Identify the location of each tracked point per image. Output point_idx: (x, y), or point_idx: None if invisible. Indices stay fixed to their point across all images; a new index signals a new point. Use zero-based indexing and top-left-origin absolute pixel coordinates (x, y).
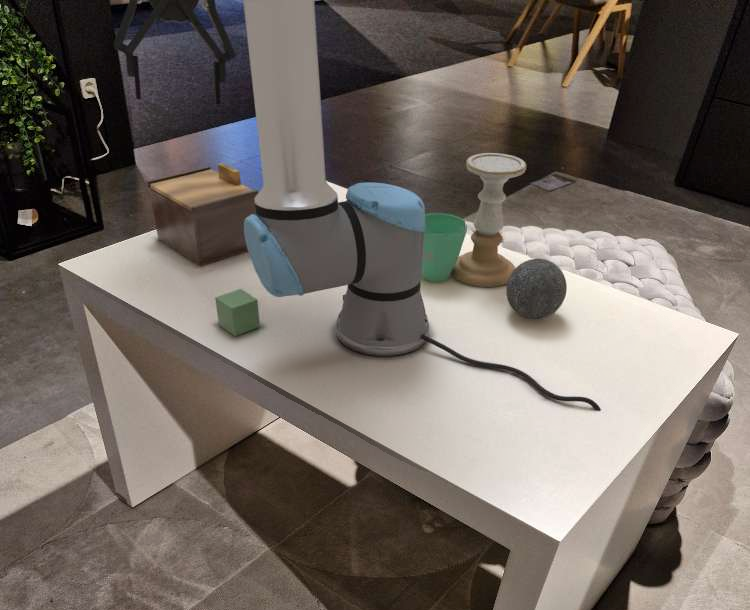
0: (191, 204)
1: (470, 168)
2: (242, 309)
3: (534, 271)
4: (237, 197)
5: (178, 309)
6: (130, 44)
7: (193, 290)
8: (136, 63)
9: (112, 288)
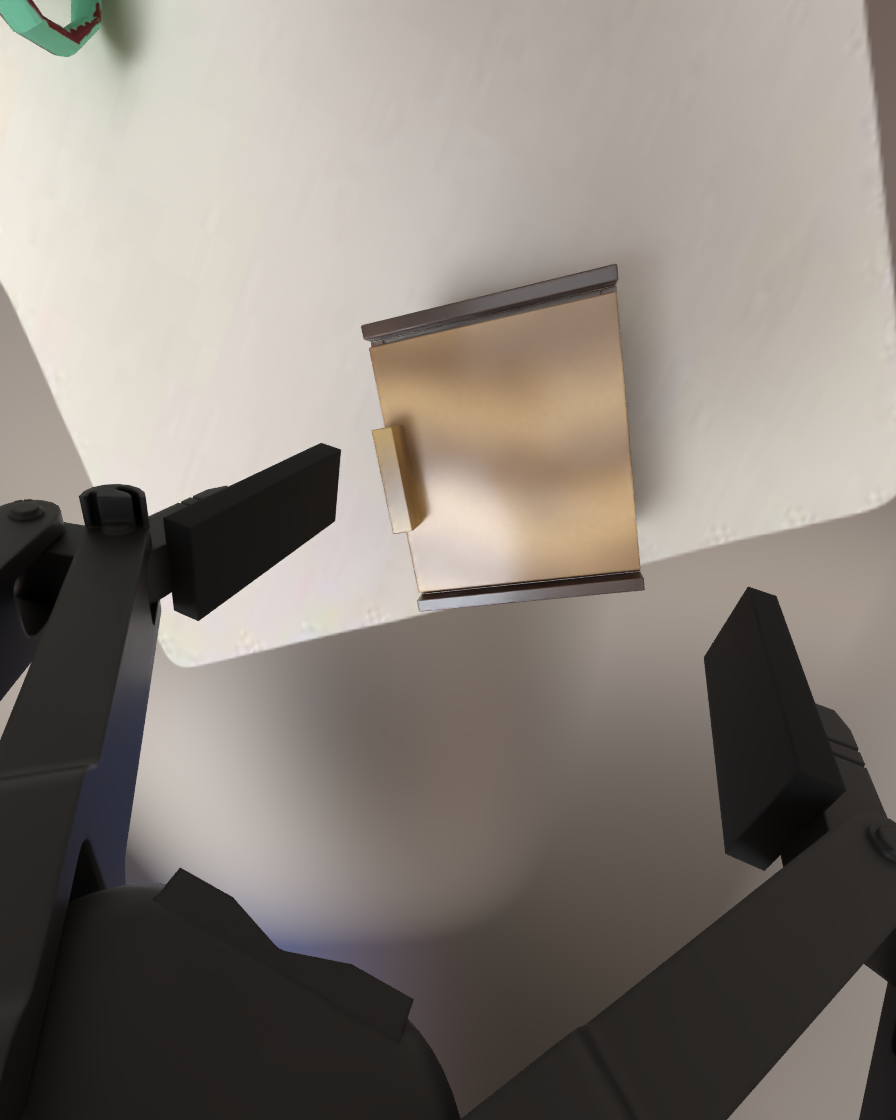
0: (602, 319)
1: None
2: None
3: None
4: (440, 306)
5: (786, 44)
6: (890, 894)
7: (687, 161)
8: (803, 729)
9: (878, 284)
